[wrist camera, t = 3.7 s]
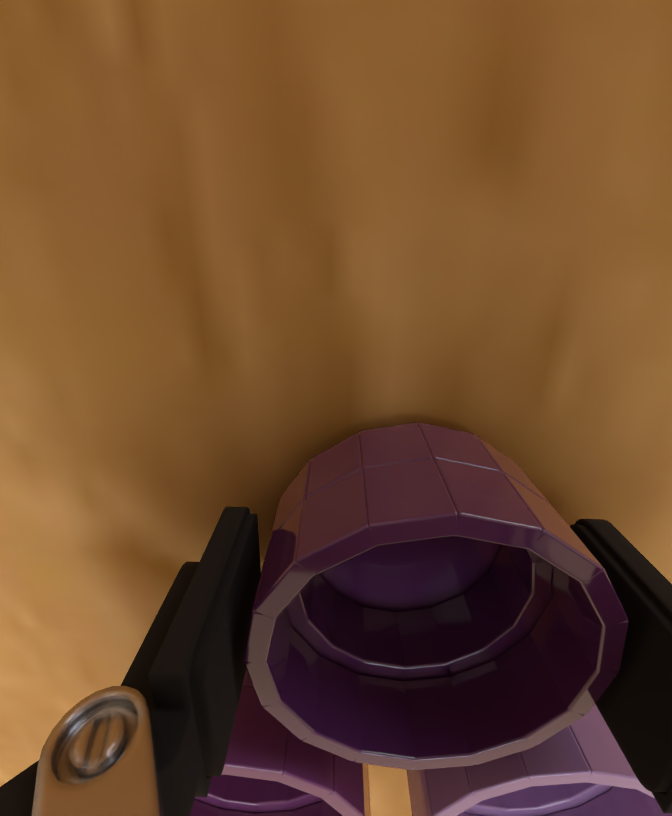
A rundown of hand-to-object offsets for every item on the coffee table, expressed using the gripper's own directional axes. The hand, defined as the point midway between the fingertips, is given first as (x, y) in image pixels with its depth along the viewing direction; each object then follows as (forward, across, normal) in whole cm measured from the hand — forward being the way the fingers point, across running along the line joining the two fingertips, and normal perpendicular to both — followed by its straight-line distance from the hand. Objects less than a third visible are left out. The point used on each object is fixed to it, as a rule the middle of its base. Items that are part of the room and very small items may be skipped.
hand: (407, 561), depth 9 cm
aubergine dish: (+1, 0, 0) cm, 1 cm away
